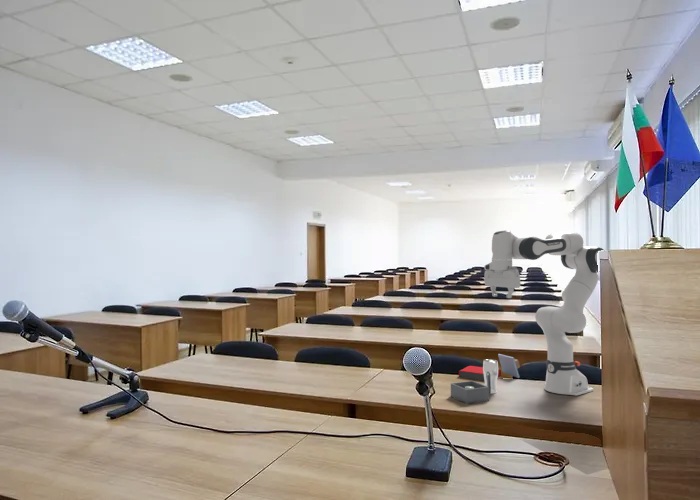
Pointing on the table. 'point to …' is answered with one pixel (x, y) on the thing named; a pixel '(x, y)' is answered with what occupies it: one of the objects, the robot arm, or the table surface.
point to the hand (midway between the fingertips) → (501, 297)
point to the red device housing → (474, 372)
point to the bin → (469, 392)
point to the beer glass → (490, 374)
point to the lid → (509, 365)
